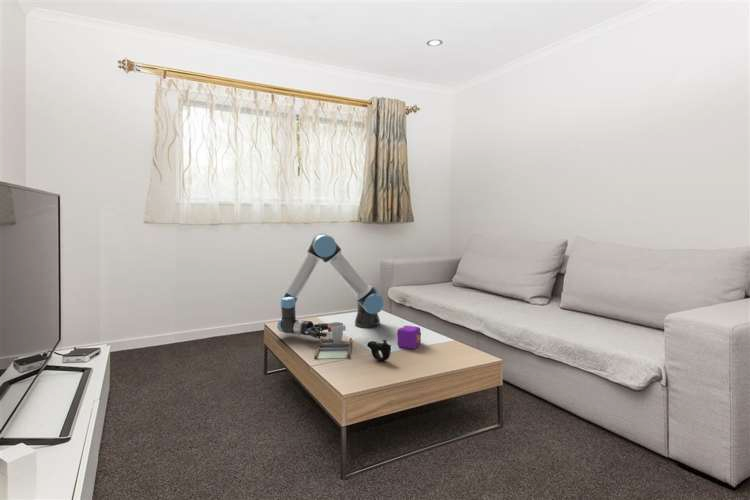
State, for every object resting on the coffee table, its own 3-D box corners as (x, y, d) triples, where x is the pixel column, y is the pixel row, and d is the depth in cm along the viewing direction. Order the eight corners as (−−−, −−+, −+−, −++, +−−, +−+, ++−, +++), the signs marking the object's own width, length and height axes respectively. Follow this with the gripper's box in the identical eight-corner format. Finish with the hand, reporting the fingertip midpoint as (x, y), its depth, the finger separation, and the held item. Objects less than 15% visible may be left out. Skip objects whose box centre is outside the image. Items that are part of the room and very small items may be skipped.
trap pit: (348, 345, 211) (348, 343, 211) (347, 351, 203) (347, 348, 203) (321, 346, 211) (321, 343, 211) (319, 351, 203) (319, 348, 203)
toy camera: (423, 342, 215) (423, 323, 214) (417, 350, 202) (417, 330, 201) (403, 340, 218) (403, 321, 218) (396, 348, 206) (395, 328, 205)
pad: (347, 351, 203) (347, 350, 203) (346, 358, 193) (346, 357, 193) (319, 351, 203) (319, 351, 203) (316, 358, 193) (316, 358, 193)
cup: (328, 341, 220) (327, 322, 219) (343, 340, 220) (343, 321, 219) (327, 346, 212) (327, 326, 211) (343, 345, 212) (343, 326, 211)
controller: (386, 364, 184) (386, 342, 183) (366, 359, 192) (365, 337, 191) (393, 362, 187) (392, 340, 186) (372, 356, 195) (371, 335, 194)
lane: (351, 340, 220) (351, 337, 220) (349, 358, 193) (348, 355, 193) (321, 341, 220) (321, 338, 220) (314, 359, 193) (314, 355, 193)
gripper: (316, 328, 235) (350, 332, 226) (290, 341, 212) (327, 345, 203) (316, 315, 234) (349, 318, 225) (290, 326, 211) (326, 330, 203)
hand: (339, 331), depth 214 cm, fingers open, 13 cm apart
